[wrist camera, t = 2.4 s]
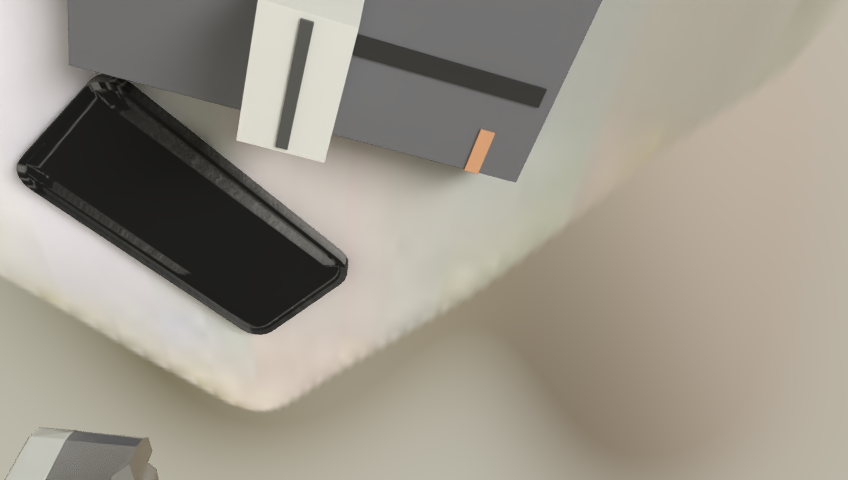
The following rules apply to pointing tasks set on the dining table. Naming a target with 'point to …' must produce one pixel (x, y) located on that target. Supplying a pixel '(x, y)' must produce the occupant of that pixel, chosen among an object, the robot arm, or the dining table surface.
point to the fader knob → (297, 74)
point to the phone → (180, 207)
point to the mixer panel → (368, 67)
